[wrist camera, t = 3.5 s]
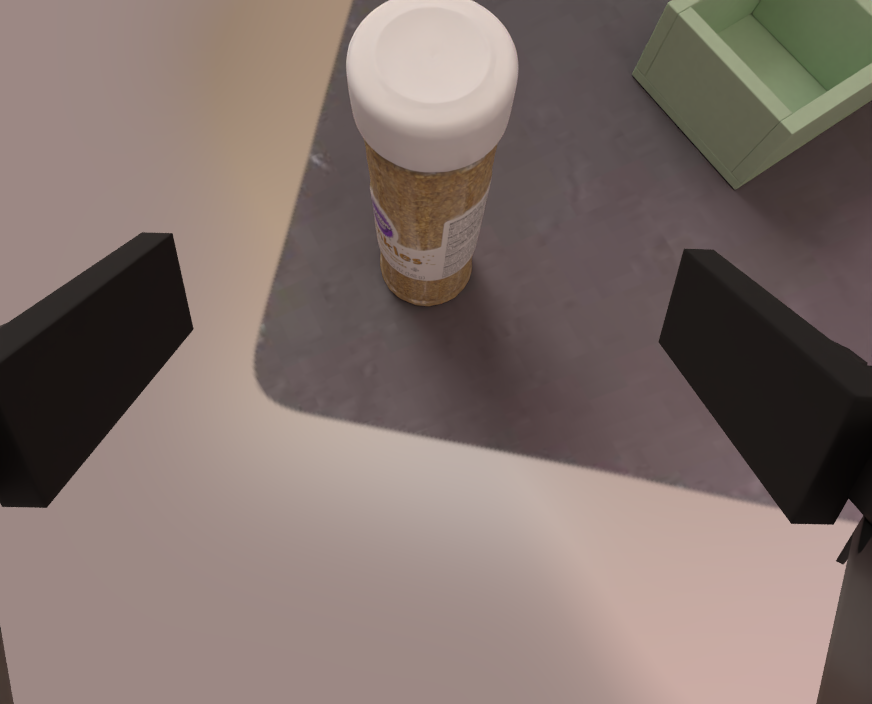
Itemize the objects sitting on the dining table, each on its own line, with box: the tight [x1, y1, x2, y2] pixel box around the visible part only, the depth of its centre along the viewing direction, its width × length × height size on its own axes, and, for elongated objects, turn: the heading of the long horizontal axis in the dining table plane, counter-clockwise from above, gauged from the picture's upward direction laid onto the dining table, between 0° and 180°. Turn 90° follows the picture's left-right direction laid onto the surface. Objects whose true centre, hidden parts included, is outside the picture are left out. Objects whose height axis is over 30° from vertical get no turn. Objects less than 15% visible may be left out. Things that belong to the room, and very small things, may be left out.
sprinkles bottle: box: [346, 0, 518, 306], centre depth 20 cm, size 5×5×13 cm
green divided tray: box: [632, 0, 872, 190], centre depth 28 cm, size 9×16×5 cm, turn 124°
